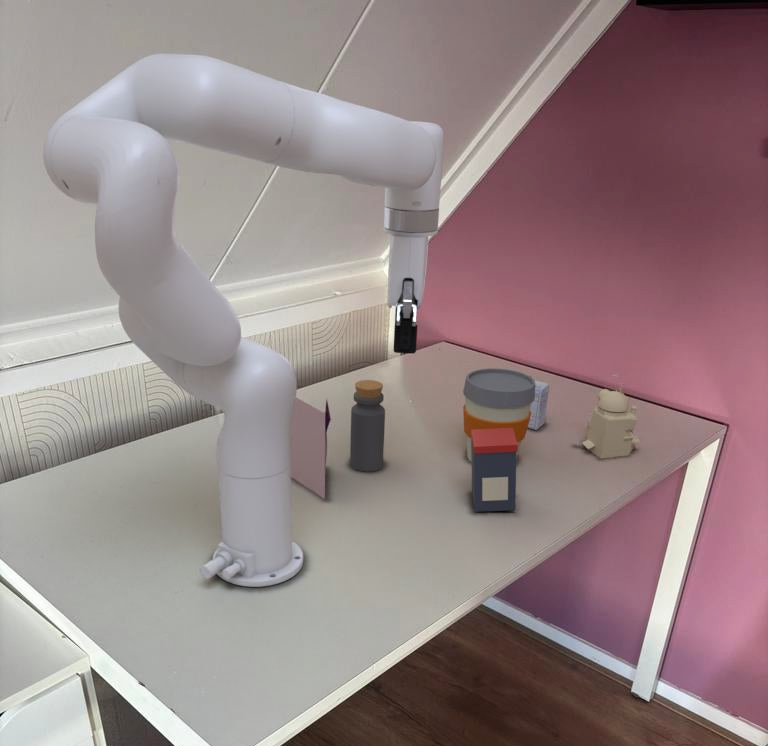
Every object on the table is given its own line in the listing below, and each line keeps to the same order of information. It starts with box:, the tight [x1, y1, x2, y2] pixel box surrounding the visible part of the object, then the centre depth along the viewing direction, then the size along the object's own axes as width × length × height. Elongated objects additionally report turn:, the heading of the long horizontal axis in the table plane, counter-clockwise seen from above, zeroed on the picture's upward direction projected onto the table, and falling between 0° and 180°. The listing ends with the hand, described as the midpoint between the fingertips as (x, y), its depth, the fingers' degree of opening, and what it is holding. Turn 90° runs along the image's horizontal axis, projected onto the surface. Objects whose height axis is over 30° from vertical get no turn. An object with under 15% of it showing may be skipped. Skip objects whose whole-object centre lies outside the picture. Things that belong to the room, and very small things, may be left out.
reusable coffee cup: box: [462, 367, 536, 463], centre depth 144 cm, size 12×13×15 cm
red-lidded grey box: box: [471, 428, 519, 513], centre depth 128 cm, size 12×7×7 cm
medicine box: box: [527, 380, 550, 431], centre depth 160 cm, size 8×4×9 cm, turn 58°
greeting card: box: [290, 397, 332, 500], centre depth 132 cm, size 11×7×15 cm, turn 3°
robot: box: [578, 373, 641, 459], centre depth 149 cm, size 10×8×15 cm
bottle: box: [349, 379, 386, 472], centre depth 139 cm, size 6×6×15 cm
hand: (404, 342), depth 119 cm, fingers open, 9 cm apart
